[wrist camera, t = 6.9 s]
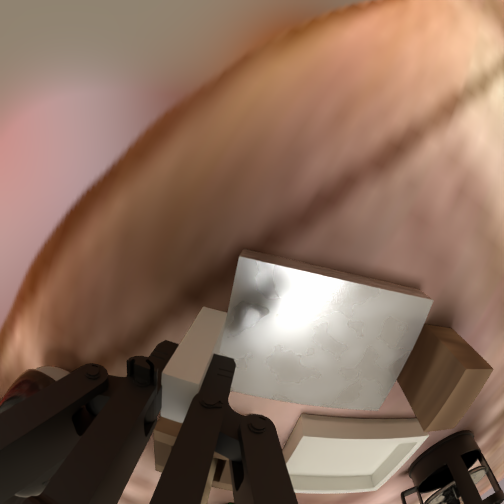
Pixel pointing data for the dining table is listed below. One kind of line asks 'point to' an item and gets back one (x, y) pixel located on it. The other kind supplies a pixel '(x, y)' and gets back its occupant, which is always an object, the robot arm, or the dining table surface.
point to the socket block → (164, 443)
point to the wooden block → (442, 377)
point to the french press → (452, 473)
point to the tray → (348, 452)
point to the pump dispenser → (20, 391)
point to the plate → (318, 332)
